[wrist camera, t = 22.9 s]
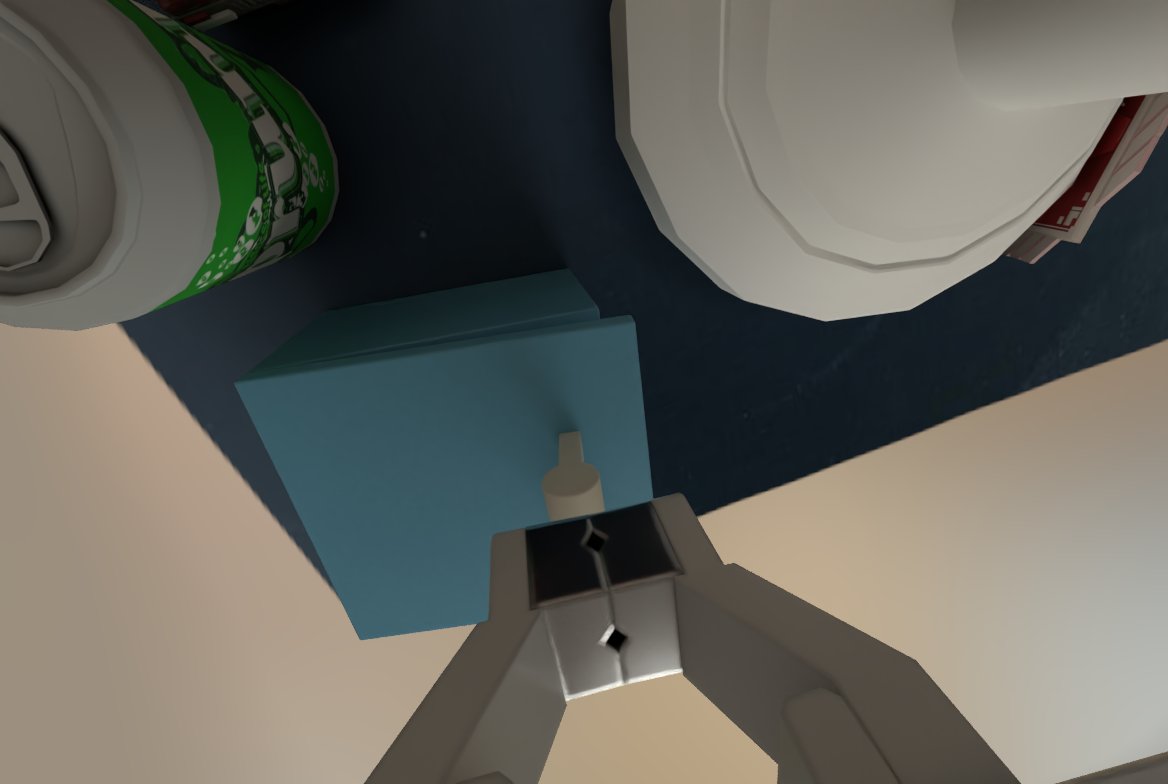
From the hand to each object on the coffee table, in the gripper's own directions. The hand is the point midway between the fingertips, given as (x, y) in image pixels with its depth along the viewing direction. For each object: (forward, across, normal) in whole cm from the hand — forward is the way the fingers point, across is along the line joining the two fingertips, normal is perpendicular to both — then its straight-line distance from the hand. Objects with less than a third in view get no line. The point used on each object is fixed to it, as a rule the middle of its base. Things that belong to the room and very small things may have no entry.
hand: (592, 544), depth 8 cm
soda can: (+18, +10, -7) cm, 22 cm away
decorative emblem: (+11, -22, 0) cm, 24 cm away
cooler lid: (+9, +3, +5) cm, 11 cm away
